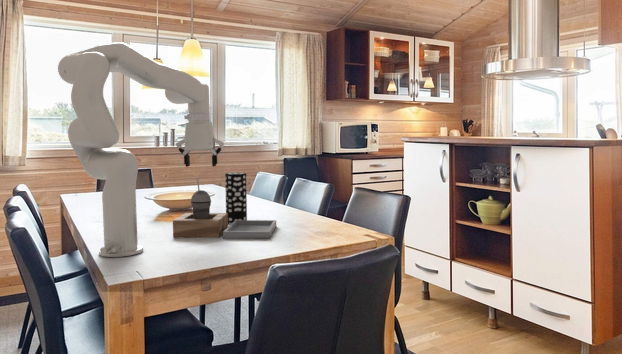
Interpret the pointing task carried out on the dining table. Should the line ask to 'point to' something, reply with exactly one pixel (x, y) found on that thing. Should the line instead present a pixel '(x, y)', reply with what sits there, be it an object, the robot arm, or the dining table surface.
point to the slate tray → (250, 229)
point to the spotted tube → (236, 196)
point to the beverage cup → (201, 204)
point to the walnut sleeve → (200, 226)
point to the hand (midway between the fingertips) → (200, 166)
